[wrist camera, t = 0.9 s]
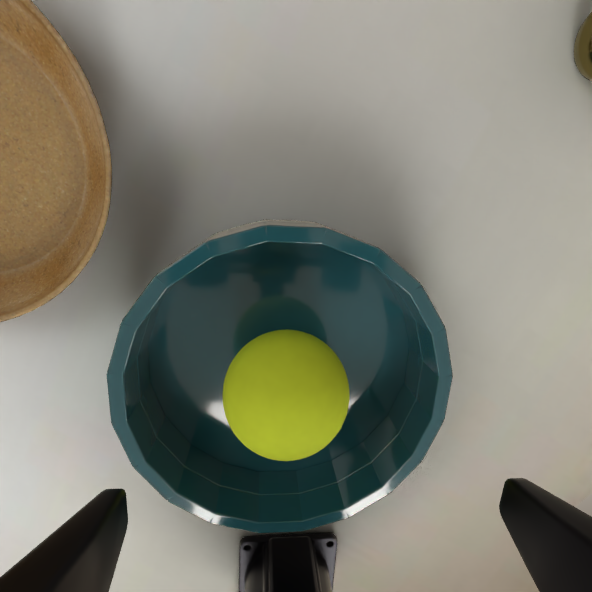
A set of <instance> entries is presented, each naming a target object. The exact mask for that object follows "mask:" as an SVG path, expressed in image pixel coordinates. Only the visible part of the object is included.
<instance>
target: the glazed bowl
mask: <svg viewBox="0 0 592 592" xmlns="http://www.w3.org/2000/svg"><path fill="white" fill-rule="evenodd" d="M286 329H288V330H297V331H302V332H305V333H308V334H311V335H313V336H315V337H317V338H318V339H320V340H321V341H323V342H324V343H325V344H327V345H328V346H329V347H330V348H331V349H332V350H333V351H334V353H335V354H336V355H337V357H338V358H339V360H340V361H341V363H342V365H343V367H344V369H345V372H346V375H347V379H348V384H349V405H348V411H347V415H346V418H345V420H344V422H343V424H342V427H341V429H340V430H339V432H338V433H337V435H336V436H335V437H334V438H333V440H332V441H331V442H330V443H329V444H328V445H327V446H325V447H324V448H323V449H322V450H320V451H319V452H317V453H315V454H313V455H311V456H309V457H306V458H303V459H299V460H293V461H278V460H272V459H268V458H265V457H262V456H260V455H258V454H256V453H255V452H253V451H251V450H250V449H248V448H247V447H246V446H245V445H244V444H243V443H242V442H241V441H240V440H239V439H238V438H237V437H236V435H235V434H234V433H233V431H232V429H231V427H230V425H229V423H228V421H227V418H226V416H225V411H224V406H223V384H224V380H225V376H226V373H227V371H228V368H229V366H230V364H231V362H232V360H233V359H234V357H235V356H236V355H237V353H238V352H239V351H240V350H241V349H242V348H243V347H244V346H245V345H246V344H247V343H249V342H250V341H251V340H253V339H255V338H256V337H258V336H260V335H262V334H265V333H268V332H271V331H276V330H286ZM452 377H453V376H452V368H451V361H450V354H449V348H448V341H447V335H446V329H445V326H444V324H443V322H442V321H441V319H440V317H439V315H438V313H437V312H436V310H435V308H434V306H433V304H432V303H431V301H430V299H429V297H428V295H427V293H426V292H425V290H424V288H423V286H422V285H421V284H420V282H418V281H417V280H416V279H415V278H414V277H413V276H412V275H410V274H409V273H408V272H407V271H406V270H405V269H403V268H402V267H401V266H400V265H399V264H398V263H397V262H395V261H394V260H393V259H392V258H391V257H390V256H388V255H387V254H386V253H385V252H384V251H383V250H381V249H380V248H378V247H376V246H373V245H371V244H369V243H367V242H364V241H362V240H360V239H357V238H355V237H352V236H350V235H347V234H345V233H342V232H340V231H337V230H335V229H332V228H329V227H327V226H324V225H322V224H319V223H317V222H311V221H296V220H270V219H266V220H260V221H257V222H253V223H247V224H244V225H241V226H237V227H234V228H230V229H228V230H224V231H221V232H217V233H216V234H213V235H212V236H211V237H209V238H208V239H206V240H205V241H203V242H202V243H200V244H199V245H197V246H196V247H194V248H193V249H191V250H190V251H188V252H187V253H185V254H184V255H183V256H181V257H180V258H178V259H177V260H175V261H174V262H173V263H171V264H170V265H169V266H167V267H166V268H165V269H163V270H162V271H161V272H159V273H158V274H157V275H156V276H155V277H154V278H153V279H152V280H151V282H150V283H149V284H148V286H147V287H146V288H145V290H144V291H143V293H142V294H141V295H140V297H139V298H138V299H137V301H136V302H135V303H134V305H133V306H132V308H131V309H130V310H129V312H128V313H127V314H126V316H125V317H124V318H123V320H122V323H121V324H120V328H119V331H118V335H117V339H116V342H115V346H114V349H113V353H112V356H111V360H110V364H109V367H108V371H107V383H108V394H109V404H110V414H111V423H112V426H113V428H114V430H115V432H116V434H117V436H118V438H119V440H120V442H121V444H122V446H123V448H124V450H125V452H126V454H127V456H128V458H129V460H130V462H131V464H132V466H133V467H134V469H135V470H136V471H137V472H138V473H139V474H141V475H142V476H143V477H144V478H145V479H146V480H147V481H148V482H149V483H150V484H151V485H152V486H153V487H154V488H155V489H156V490H157V491H158V492H159V493H160V494H161V495H162V496H163V497H164V498H165V499H166V500H168V502H170V503H172V504H174V505H176V506H178V507H180V508H182V509H184V510H186V511H187V512H189V513H191V514H193V515H195V516H197V517H199V518H201V519H203V520H205V521H207V522H210V523H212V524H217V525H221V526H226V527H231V528H235V529H240V530H245V531H249V532H254V533H255V532H256V533H274V532H298V531H306V530H309V529H313V528H316V527H319V526H323V525H326V524H330V523H333V522H336V521H340V520H343V519H347V518H349V517H351V516H353V515H354V514H356V513H358V512H359V511H361V510H363V509H365V508H366V507H368V506H370V505H371V504H373V503H375V502H376V501H378V500H380V499H382V498H383V497H385V496H387V495H388V494H389V493H391V492H392V491H393V490H394V489H395V488H396V487H397V486H398V485H399V484H400V483H401V482H402V481H403V480H404V479H405V478H406V477H407V476H408V475H409V474H410V473H411V472H412V471H413V470H414V469H415V468H416V467H417V466H418V465H419V464H420V463H421V460H423V458H424V457H425V455H426V453H427V451H428V449H429V447H430V445H431V444H432V442H433V440H434V438H435V436H436V434H437V433H438V431H439V429H440V427H441V425H442V423H443V420H444V419H445V413H446V408H447V403H448V398H449V392H450V387H451V382H452Z"/></svg>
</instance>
